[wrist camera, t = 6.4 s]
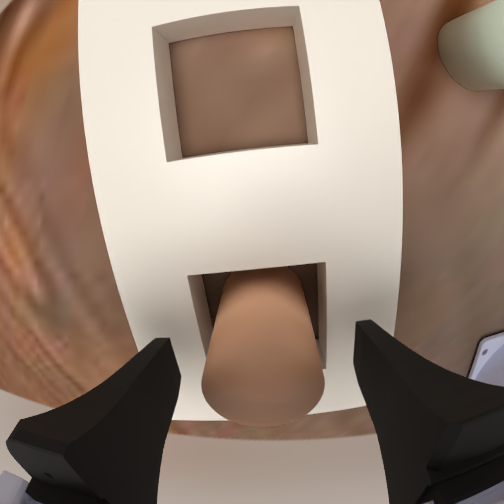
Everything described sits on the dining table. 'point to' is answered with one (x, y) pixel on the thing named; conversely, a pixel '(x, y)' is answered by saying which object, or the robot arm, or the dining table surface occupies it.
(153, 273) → the white flat block
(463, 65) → the peg sage
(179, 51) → the dining table surface
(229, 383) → the peg terracotta
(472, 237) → the dining table surface
